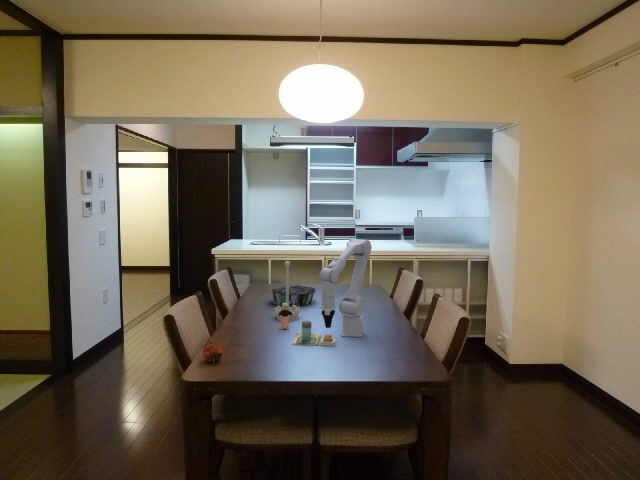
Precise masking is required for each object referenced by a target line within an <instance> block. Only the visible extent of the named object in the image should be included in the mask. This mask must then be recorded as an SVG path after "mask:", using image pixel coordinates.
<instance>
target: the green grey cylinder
mask: <svg viewBox="0 0 640 480" xmlns="http://www.w3.org/2000/svg"><path fill="white" fill-rule="evenodd" d="M301 333H302V341H304V342H309V341H311V334H312V321H309V320H303V321H301Z"/></svg>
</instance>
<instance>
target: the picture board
mask: <svg viewBox="0 0 640 480" xmlns="http://www.w3.org/2000/svg"><path fill="white" fill-rule="evenodd" d="M321 336H322V335H321V333H311V341H309V342H304V341H302V332H301V333H298V332H297V333H296V334H295V336H294V338H293V341H292V343H291V344H292V346H317V347H319V345H320V344H319V343H320V341H321Z"/></svg>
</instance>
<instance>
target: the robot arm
mask: <svg viewBox="0 0 640 480" xmlns="http://www.w3.org/2000/svg"><path fill="white" fill-rule="evenodd" d="M372 249H373V247H372V243H371V241H370V240H369V239H361V238H359V239H358V238H350V239H349V240H348V241H347V242H346V247H345V248H344V250H343V251H342V253H341V254H340V255H339V256H336V257H334V258H333V259H332V261H331V262H329V264H328V265H327V266H326V267H323V268H322V269H321V270H320V272H319V275H318V277H319V280H320V285H321V305H318V308H319V309H322V310H321V316H322V317H323V321H324V327H325V328H326V329H331V327H332V323H333V318H334V316H335V314H336V310H335V309H336V282H337V281H338V279H339V276H340V273H341V272H342V271H343V270H344V269H345V267H347V266H346V265H347V263H346V262H348V260H349V259H350V258H351V257H352V258H354V260H355V262H354V263H355V264H354V267H353V272H352V275H351V280H350V284H349V287H348V291H347V293H345V294H344V295H342V298H341V301H340V302H339V305H338V309H339V312H340V313H341V315H342V330H341V337H354V338H356V337H357V338H358V337H359V338H363V336H364V335H363V334H364V316H363V315H362V313H363V311H364V306H363V305H364V299H363V298H362V297H361V296H360V293H361V291H362V290H361V288H362V286H363V281H364V277H365V274H366V273H365V272H366V269H367V263H368V260H369V259H370V257H371V252H372Z"/></svg>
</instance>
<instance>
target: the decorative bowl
mask: <svg viewBox="0 0 640 480" xmlns="http://www.w3.org/2000/svg"><path fill="white" fill-rule="evenodd" d="M316 291H317V290H316V288H314V287H312V286H307V285H289V307H292V305H295V306H297V307H306V306H309V305H311V304H312V301H313V299H314V298H313V297H314V295H315V293H316ZM270 292H271V295H272V296H271V297H272V299H273V301H274V303H275V305H276V306H281V307H282V304H283V303H286V285H284V286H278V287H274V288H271V289H270Z"/></svg>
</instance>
